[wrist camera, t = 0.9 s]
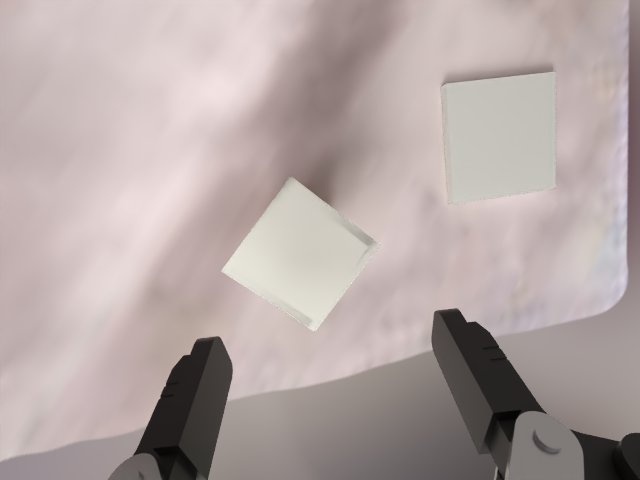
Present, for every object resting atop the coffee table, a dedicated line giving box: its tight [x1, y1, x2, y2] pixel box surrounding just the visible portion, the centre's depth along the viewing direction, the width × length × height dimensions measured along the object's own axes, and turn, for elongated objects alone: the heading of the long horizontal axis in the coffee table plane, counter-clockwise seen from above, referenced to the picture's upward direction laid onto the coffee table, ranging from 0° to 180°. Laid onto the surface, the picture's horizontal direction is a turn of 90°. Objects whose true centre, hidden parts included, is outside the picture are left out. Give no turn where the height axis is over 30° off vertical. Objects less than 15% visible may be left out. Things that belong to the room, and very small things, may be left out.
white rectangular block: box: [222, 176, 380, 332], centre depth 20 cm, size 6×6×8 cm
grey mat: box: [441, 71, 556, 204], centre depth 31 cm, size 12×12×1 cm
